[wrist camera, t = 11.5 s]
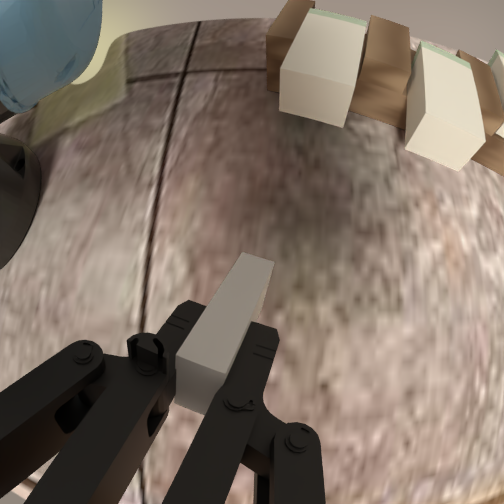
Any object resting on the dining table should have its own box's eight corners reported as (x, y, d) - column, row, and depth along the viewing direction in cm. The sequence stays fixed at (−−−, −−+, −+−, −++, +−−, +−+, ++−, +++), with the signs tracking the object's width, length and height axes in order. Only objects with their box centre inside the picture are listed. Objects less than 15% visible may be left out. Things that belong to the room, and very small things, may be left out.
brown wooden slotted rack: (267, 90, 26) (265, 34, 20) (289, 44, 28) (291, -4, 22) (524, 188, 22) (560, 158, 16) (514, 131, 24) (541, 99, 18)
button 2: (279, 110, 20) (280, 68, 16) (307, 44, 22) (310, 7, 18) (342, 127, 19) (354, 87, 16) (358, 57, 22) (366, 21, 18)
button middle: (404, 149, 19) (425, 112, 15) (407, 73, 21) (420, 40, 17) (458, 171, 18) (485, 141, 14) (452, 93, 20) (469, 63, 17)
